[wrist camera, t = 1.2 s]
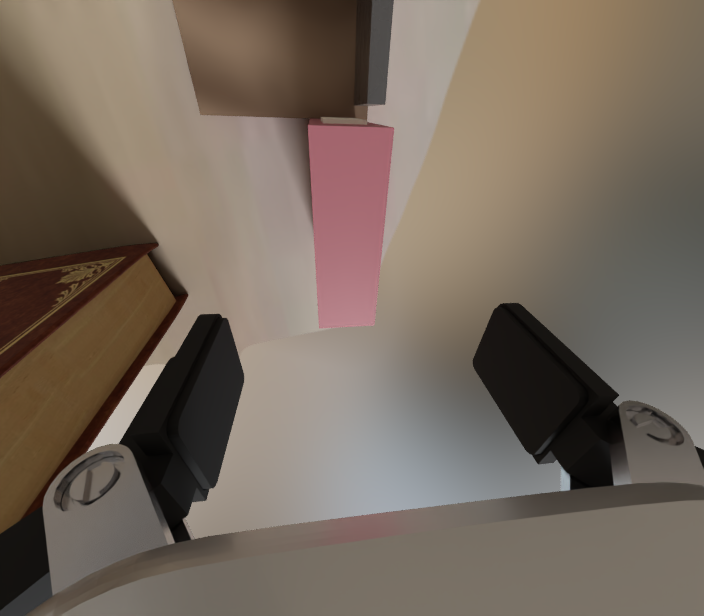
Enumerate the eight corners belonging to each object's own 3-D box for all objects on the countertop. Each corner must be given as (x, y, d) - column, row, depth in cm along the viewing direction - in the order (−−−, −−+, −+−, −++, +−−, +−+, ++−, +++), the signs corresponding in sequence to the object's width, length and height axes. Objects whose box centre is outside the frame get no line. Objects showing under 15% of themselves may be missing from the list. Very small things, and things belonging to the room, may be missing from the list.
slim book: (310, 115, 25) (307, 119, 12) (353, 116, 25) (394, 122, 12) (316, 241, 32) (319, 328, 19) (349, 240, 32) (374, 325, 20)
